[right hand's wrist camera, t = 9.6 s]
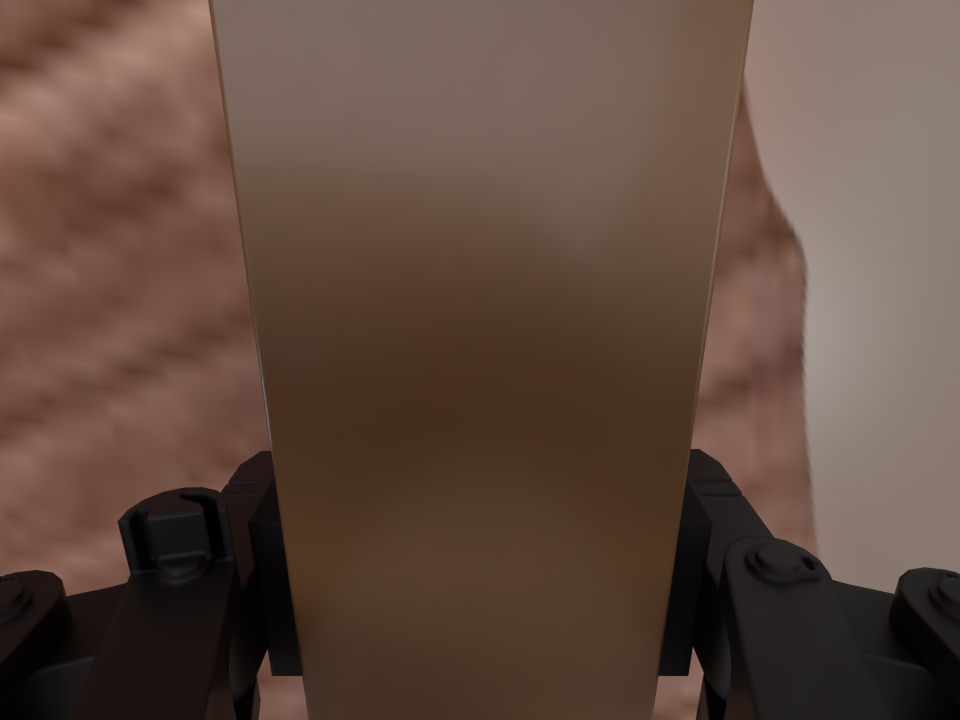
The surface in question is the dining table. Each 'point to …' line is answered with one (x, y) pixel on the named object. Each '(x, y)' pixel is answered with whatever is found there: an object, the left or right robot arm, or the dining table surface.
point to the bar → (480, 332)
